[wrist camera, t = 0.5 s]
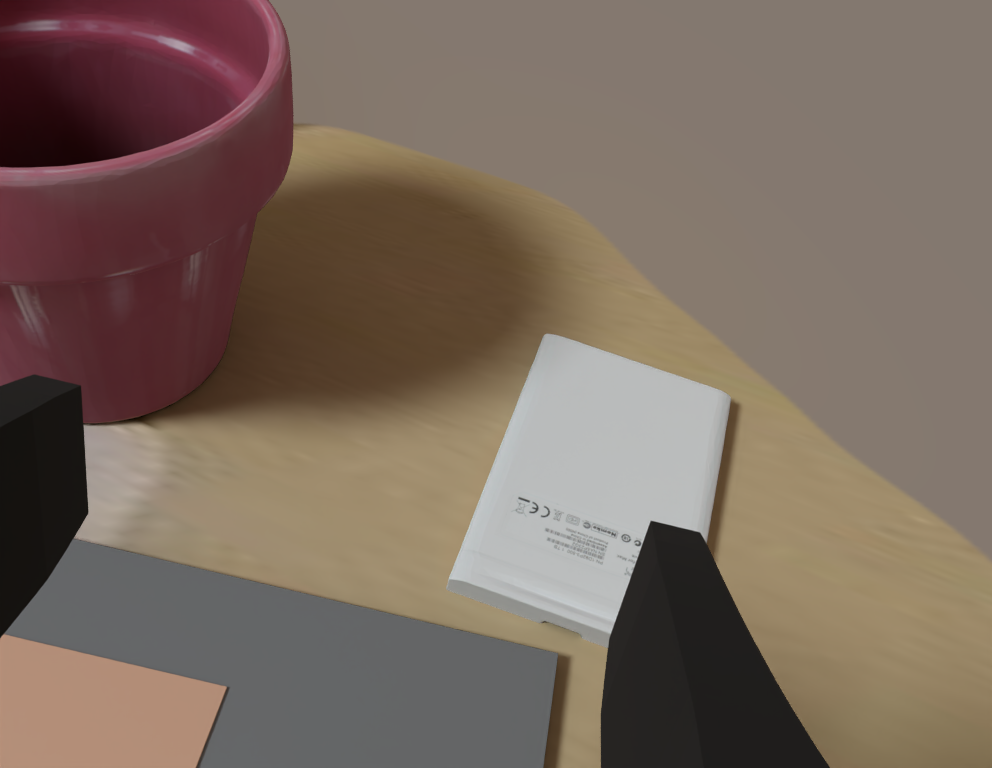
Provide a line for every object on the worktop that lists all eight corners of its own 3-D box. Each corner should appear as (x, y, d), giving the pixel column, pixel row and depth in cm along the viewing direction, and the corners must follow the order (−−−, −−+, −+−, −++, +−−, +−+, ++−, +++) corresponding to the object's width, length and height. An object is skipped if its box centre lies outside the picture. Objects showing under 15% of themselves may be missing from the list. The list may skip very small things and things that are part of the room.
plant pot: (-161, 286, 35) (-324, -50, 26) (183, 182, 43) (154, -110, 33) (-11, 558, 29) (-152, 245, 20) (361, 381, 37) (387, 92, 27)
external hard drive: (720, 418, 39) (674, 682, 31) (536, 356, 40) (442, 597, 31) (734, 393, 38) (689, 660, 30) (544, 329, 39) (448, 573, 30)
